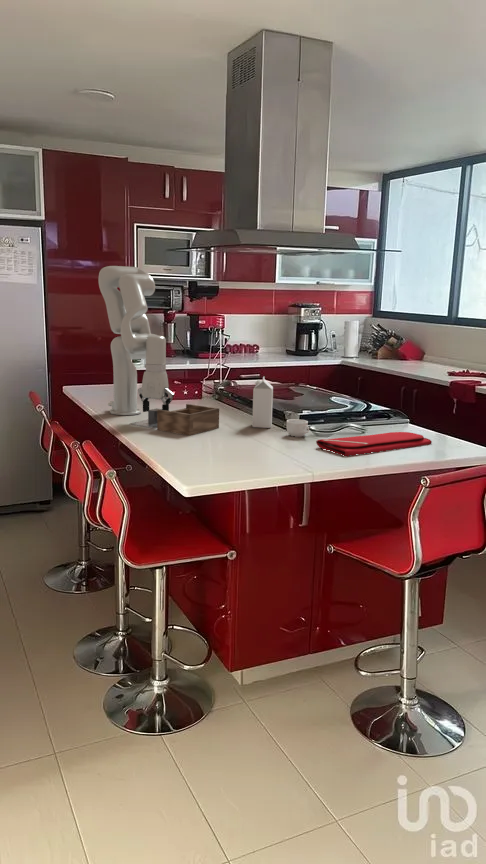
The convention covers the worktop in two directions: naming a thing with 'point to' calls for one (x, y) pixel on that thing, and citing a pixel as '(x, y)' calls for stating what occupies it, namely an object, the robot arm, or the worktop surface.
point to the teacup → (297, 427)
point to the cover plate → (145, 424)
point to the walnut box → (188, 419)
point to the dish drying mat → (373, 443)
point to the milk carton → (262, 404)
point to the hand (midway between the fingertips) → (155, 412)
